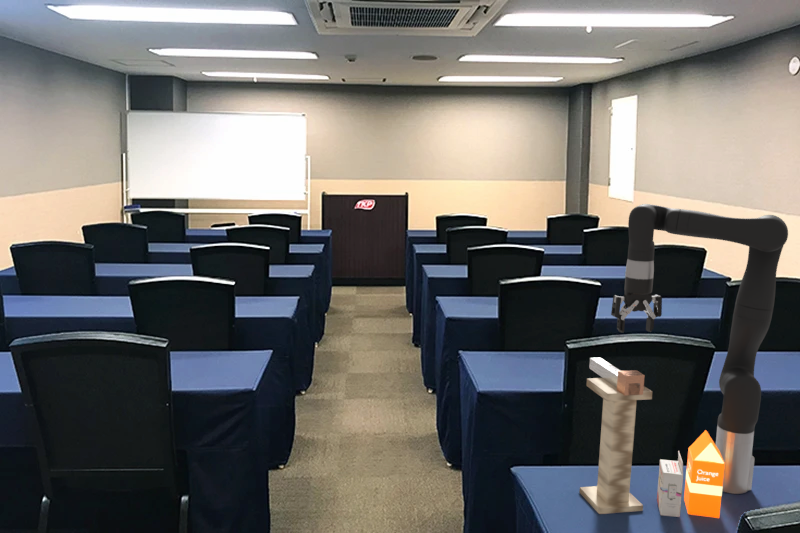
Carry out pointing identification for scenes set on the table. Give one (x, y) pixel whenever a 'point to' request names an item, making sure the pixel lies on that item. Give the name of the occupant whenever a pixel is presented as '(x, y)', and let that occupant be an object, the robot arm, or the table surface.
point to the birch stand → (614, 450)
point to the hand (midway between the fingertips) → (635, 331)
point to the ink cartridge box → (670, 487)
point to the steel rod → (619, 377)
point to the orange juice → (704, 478)
